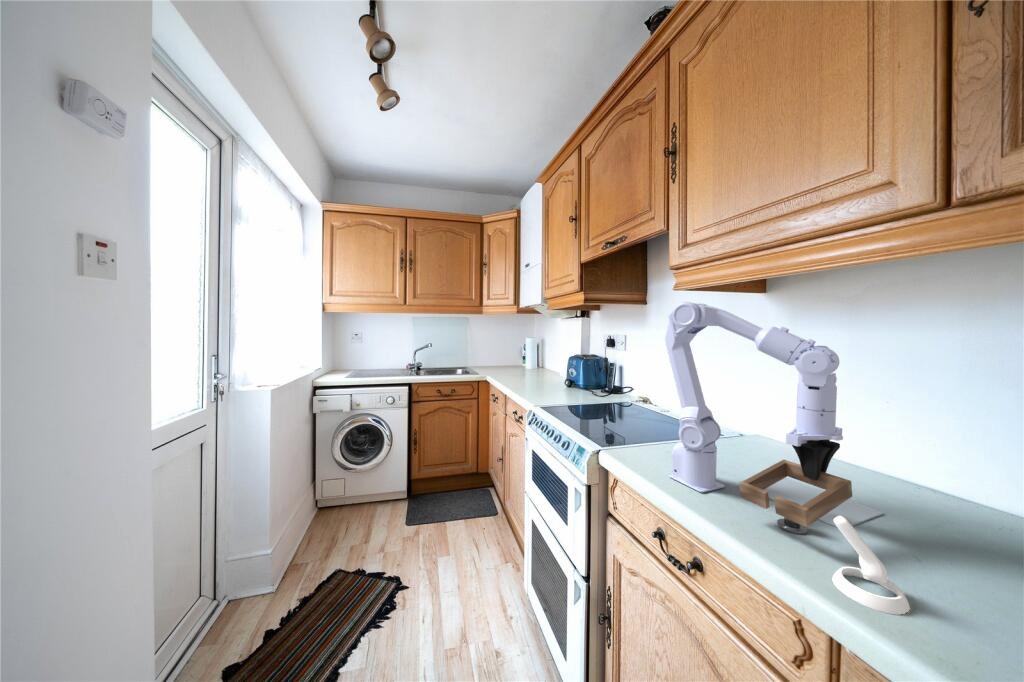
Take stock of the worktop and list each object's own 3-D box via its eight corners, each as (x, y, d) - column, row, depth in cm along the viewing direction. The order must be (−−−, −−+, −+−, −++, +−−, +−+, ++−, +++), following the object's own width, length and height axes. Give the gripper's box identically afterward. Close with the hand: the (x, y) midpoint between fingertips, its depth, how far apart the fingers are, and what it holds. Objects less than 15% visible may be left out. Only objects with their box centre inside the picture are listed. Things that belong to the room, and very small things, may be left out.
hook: (786, 525, 56) (829, 506, 55) (845, 605, 52) (893, 586, 51) (805, 541, 49) (854, 520, 48) (875, 634, 45) (931, 614, 44)
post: (771, 523, 66) (772, 500, 66) (786, 519, 68) (786, 496, 67) (798, 536, 62) (799, 512, 62) (812, 531, 64) (813, 507, 63)
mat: (745, 488, 81) (745, 487, 81) (785, 478, 86) (785, 477, 86) (842, 529, 64) (842, 528, 64) (884, 514, 70) (884, 512, 70)
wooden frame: (740, 497, 67) (739, 483, 67) (784, 472, 72) (783, 459, 72) (806, 527, 57) (804, 510, 57) (852, 496, 62) (851, 480, 62)
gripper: (818, 416, 60) (816, 492, 61) (863, 409, 66) (860, 479, 66) (775, 408, 67) (772, 476, 67) (818, 402, 72) (816, 466, 72)
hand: (813, 477), depth 67 cm, fingers closed on wooden frame
